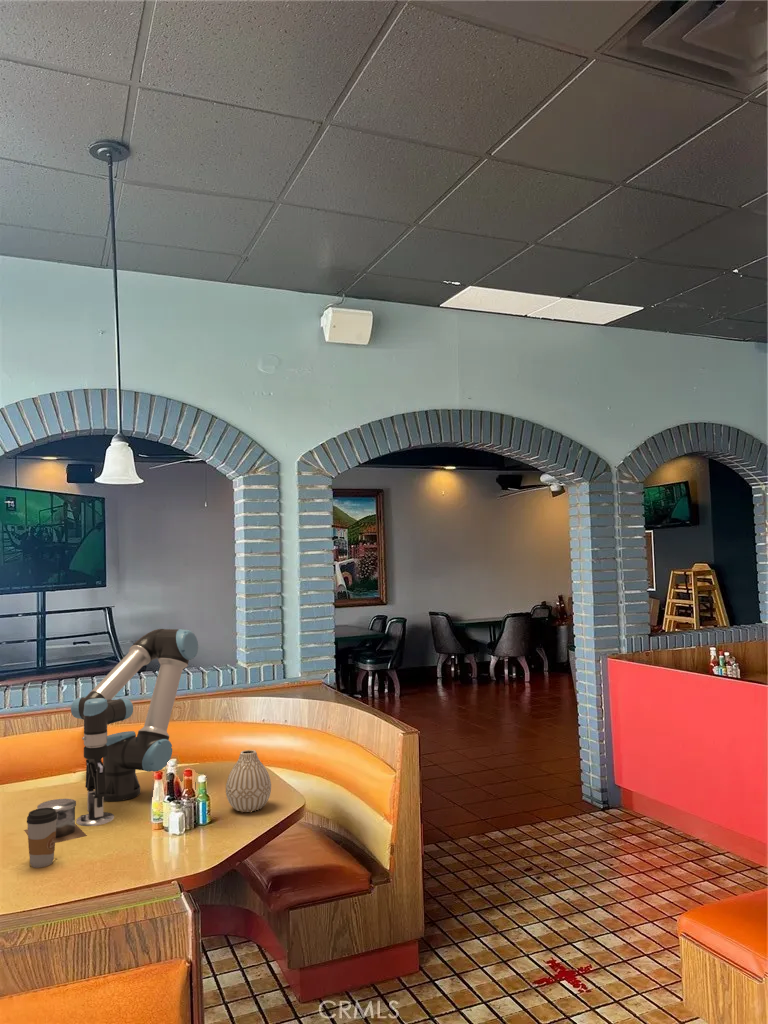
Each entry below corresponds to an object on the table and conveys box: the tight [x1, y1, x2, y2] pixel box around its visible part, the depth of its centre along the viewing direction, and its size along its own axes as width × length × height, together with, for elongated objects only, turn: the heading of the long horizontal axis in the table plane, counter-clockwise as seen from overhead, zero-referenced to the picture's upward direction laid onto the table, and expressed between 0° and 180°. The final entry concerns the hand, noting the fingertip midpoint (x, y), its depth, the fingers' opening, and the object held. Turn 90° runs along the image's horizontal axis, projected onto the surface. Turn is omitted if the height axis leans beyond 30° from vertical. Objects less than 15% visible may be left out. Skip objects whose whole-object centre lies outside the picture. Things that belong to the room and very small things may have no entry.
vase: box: [225, 749, 272, 813], centre depth 274 cm, size 16×16×20 cm
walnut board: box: [23, 823, 88, 844], centre depth 251 cm, size 15×19×1 cm
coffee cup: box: [26, 808, 57, 869], centre depth 228 cm, size 8×8×15 cm
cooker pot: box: [36, 798, 77, 838], centre depth 251 cm, size 16×12×9 cm
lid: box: [75, 792, 115, 827], centre depth 263 cm, size 12×12×10 cm
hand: (95, 813), depth 263 cm, fingers open, 8 cm apart
